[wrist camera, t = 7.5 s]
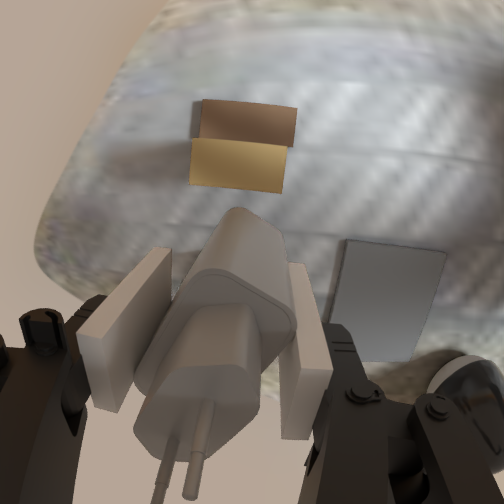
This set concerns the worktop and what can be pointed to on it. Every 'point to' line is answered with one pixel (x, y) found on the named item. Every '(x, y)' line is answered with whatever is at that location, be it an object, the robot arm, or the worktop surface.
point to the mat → (385, 297)
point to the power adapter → (215, 347)
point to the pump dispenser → (476, 402)
